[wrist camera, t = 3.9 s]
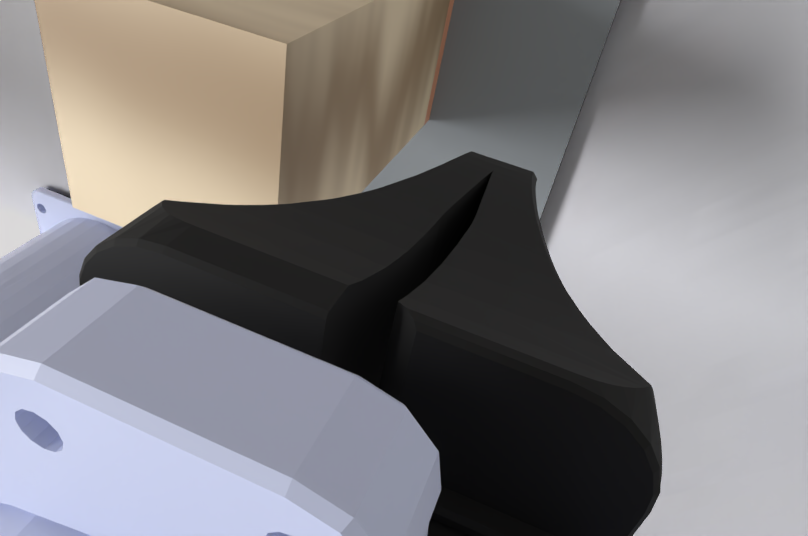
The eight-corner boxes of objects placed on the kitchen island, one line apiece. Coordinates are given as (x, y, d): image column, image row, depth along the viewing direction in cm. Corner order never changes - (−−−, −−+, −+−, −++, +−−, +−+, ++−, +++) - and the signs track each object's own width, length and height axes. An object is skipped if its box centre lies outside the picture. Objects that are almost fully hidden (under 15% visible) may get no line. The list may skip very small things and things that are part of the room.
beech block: (428, 119, 20) (273, 287, 13) (294, 76, 21) (72, 207, 14) (463, -44, 17) (286, 44, 10) (304, -87, 18) (26, -38, 11)
